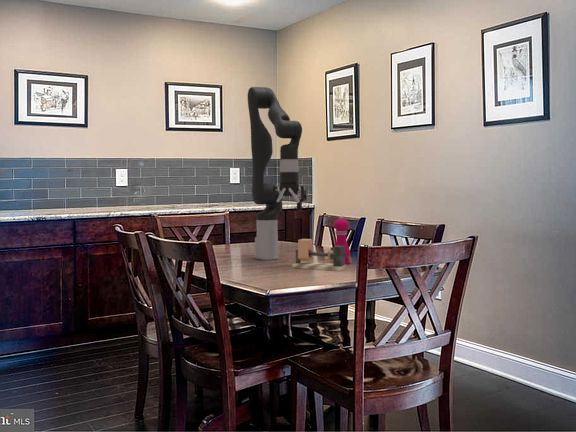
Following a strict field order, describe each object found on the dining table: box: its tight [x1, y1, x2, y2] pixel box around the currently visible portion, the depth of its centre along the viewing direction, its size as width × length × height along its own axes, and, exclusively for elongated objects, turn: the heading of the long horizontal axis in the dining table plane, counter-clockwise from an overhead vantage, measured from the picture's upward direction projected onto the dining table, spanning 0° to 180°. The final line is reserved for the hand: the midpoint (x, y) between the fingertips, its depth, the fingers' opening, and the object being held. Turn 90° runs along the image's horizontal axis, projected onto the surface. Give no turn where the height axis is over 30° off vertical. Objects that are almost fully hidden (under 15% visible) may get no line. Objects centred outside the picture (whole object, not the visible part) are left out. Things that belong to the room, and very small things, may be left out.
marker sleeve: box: [297, 238, 313, 261], centre depth 225 cm, size 4×5×8 cm
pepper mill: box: [333, 214, 351, 265], centre depth 234 cm, size 7×7×20 cm
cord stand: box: [291, 245, 347, 272], centre depth 222 cm, size 20×7×9 cm, turn 62°
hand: (289, 211), depth 227 cm, fingers open, 8 cm apart
